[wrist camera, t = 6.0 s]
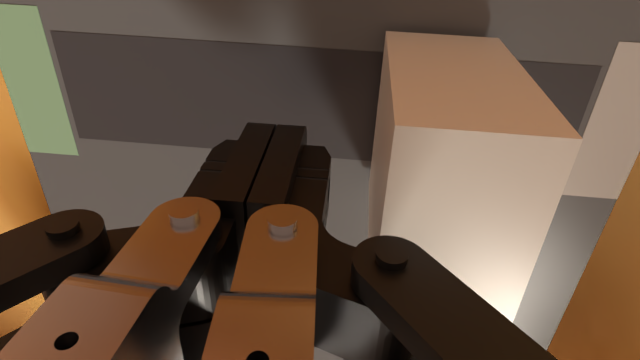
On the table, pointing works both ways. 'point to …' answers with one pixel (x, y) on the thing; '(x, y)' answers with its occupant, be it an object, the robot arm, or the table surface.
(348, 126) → the breaker panel
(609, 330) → the table surface
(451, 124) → the beige rectangular block
